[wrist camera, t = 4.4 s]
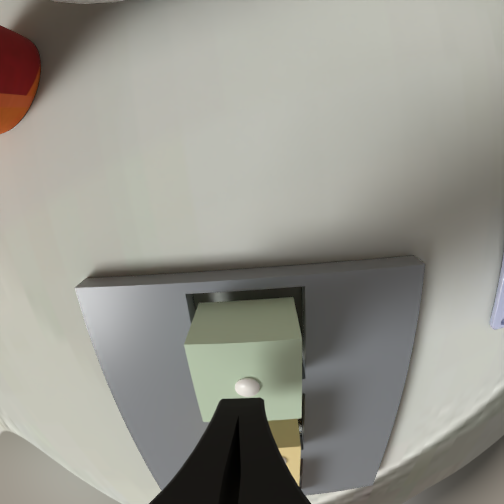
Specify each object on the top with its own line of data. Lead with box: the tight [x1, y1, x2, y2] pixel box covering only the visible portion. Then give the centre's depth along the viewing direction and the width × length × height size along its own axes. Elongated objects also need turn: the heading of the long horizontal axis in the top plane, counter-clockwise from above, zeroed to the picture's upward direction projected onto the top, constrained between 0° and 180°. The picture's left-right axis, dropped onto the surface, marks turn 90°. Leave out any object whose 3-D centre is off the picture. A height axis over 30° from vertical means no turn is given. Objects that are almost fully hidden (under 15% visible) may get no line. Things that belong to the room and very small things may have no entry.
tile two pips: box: [268, 419, 301, 486], centre depth 15 cm, size 4×4×3 cm
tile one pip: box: [184, 297, 302, 422], centre depth 13 cm, size 4×4×3 cm
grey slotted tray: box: [75, 255, 425, 495], centre depth 17 cm, size 16×18×1 cm
